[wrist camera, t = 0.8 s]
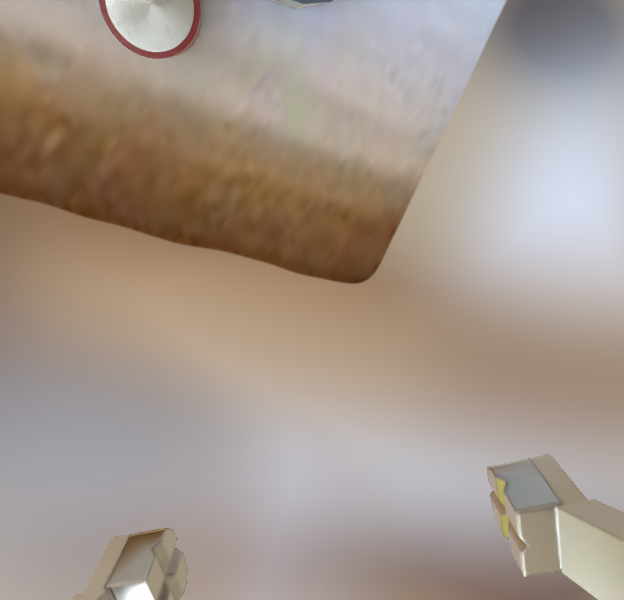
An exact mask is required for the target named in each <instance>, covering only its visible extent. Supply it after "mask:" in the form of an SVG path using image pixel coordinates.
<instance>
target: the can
mask: <svg viewBox="0 0 624 600" xmlns="http://www.w3.org/2000/svg"><path fill="white" fill-rule="evenodd" d="M99 3H100V7H101V11H102V14H103V17H104V19H105V21H106V23H107V25H108V27H109V28H110V30H111V31H112V33H113V34H114V35H115V37H116V38H117V39H118V40H119V41H120V42H121V43H122V44H123V45H124V46H126V47H127V48H128V49H130V50H132V51H133V52H135V53H137V54H139V55H142V56H145V57H149V58H158V59H160V58H167V57H171V56H175V55H178V54H181V53H183V52H185V51H186V50H188V49H189V48H190V47H191V46H192V45H193V44H194V42H195V40H196V39H197V37H198V34H199V31H200V26H201V13H200V2H199V0H99Z"/></svg>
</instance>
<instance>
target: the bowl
mask: <svg viewBox="0 0 624 600" xmlns="http://www.w3.org/2000/svg"><path fill="white" fill-rule="evenodd" d="M269 1H271V2H274V3H278V4H281V5H284V6H288V7H291V8H306V7H317V6H320V5H323V4H326V3H328V2H331V1H333V0H269Z"/></svg>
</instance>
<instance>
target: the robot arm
mask: <svg viewBox="0 0 624 600" xmlns="http://www.w3.org/2000/svg"><path fill="white" fill-rule="evenodd" d="M487 475H488V481H489V483H490V485H491V487H492V489H493V492H492V493H491V495H490V497H491V503H492V508H493V512H494V515H495V519H496V521H497V524H498V526H499V528H500V531H501V532H502V535H503V536H504V537H506V538H507V539H509V540H510V547H511V553H512V554H513V556H514V558H515V560H516V562H517V564H518V566H519V568H520V570H521V572H522V574H523V576H529V575H537V574H544V573H550V572H558V571H562V572H563V574H565V575H566V576H567V577H569V578H570V579H571V580H573V581H574V582H575V583H577V584H578V585H579V586H581V587H582V588H583V589H585V590H586V591H587V592H589V593H590V594H591V595H593V596H594V597H595V598H597V599H598V600H624V513H623V512H621V511H619V510H617V509H615V508H612V507H610V506H608V505H606V504H603V503H602V502H599V501H597V500H595V499H593V500H587V498H586V497H585V496H584V495H583V493H582V492H581V491H580V490H579V489H578V487H577V486H576V485H575V484H574V482H573V481H572V480H571V479H570V477H569V476H568V475H567V474H566V473H565V471H564V470H563V469H562V468H561V466H560V465H559V464H558V463H557V461H556V460H555V459H554V458H553V457H552V456H551V455H549V454H546V455H542V456H537V457H532V458H528V459H525V460H520V461H515V462H510V463H505V464H500V465H495V466H490V467H487ZM176 542H177V537H176V535H175V533H174V531H173V529H171V528H164V529H158V530H152V531H146V532H140V533H134V534H131V535H124V536H119V537H115V538H113V539H112V540H110V542H109V544H108V545H107V548H106V549H105V551H104V553H103V555H102V557H101V559H100V561H99V563H98V565H97V566H96V568H95V570H94V572H93V574H92V576H91V578H90V580H89V582H88V584H87V586H86V587H85V589H84V591H83V593H81V594H77V595H75V596H74V597H73V598H72V599H71V600H179V599H180V598H181V597H182V595H183V594H184V592H185V588H186V584H187V565H186V560H185V557H184V554H183V553H182V552H181V551H180V550H178V549H177V548H175V545H176Z"/></svg>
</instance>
